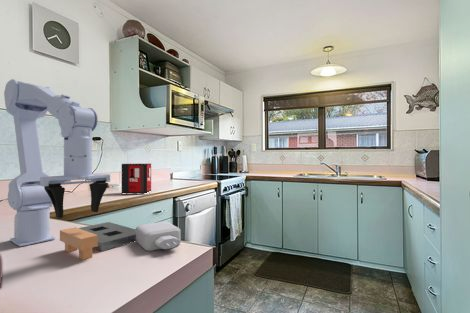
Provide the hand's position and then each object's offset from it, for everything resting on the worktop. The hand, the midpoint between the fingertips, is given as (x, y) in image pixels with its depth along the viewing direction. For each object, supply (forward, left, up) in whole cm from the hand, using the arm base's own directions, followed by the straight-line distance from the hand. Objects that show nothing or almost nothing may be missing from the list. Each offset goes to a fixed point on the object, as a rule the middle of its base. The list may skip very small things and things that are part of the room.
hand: (77, 214), depth 61 cm
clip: (0, 0, -9) cm, 9 cm away
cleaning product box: (-90, +72, -10) cm, 116 cm away
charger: (+12, +15, -10) cm, 22 cm away
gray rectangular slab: (-7, +10, -9) cm, 16 cm away
